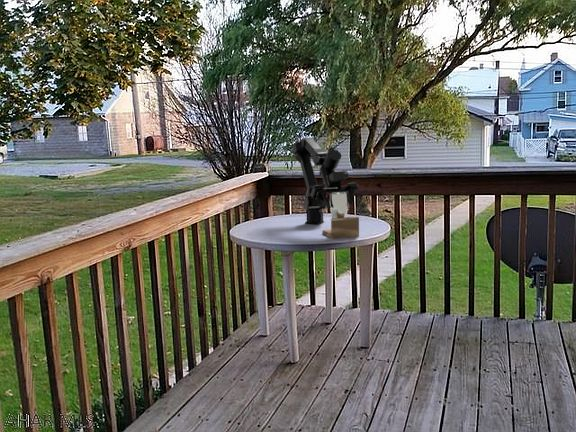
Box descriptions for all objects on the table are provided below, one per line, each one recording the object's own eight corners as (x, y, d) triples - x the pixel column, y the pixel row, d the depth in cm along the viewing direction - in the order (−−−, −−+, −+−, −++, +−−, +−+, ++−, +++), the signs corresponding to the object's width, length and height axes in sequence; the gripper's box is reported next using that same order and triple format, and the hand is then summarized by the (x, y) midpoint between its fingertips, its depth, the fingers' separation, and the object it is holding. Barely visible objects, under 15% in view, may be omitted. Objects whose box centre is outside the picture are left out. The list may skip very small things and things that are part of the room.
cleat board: (322, 233, 223) (322, 214, 222) (347, 231, 227) (347, 212, 225) (332, 238, 213) (332, 219, 212) (358, 236, 217) (358, 217, 216)
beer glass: (327, 230, 222) (325, 193, 219) (341, 228, 225) (340, 191, 222) (337, 233, 216) (336, 194, 213) (352, 230, 219) (350, 192, 217)
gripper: (312, 164, 217) (324, 196, 208) (356, 162, 223) (369, 193, 214) (306, 182, 225) (316, 214, 217) (348, 180, 231) (360, 210, 223)
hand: (340, 207), depth 218 cm, fingers open, 9 cm apart
